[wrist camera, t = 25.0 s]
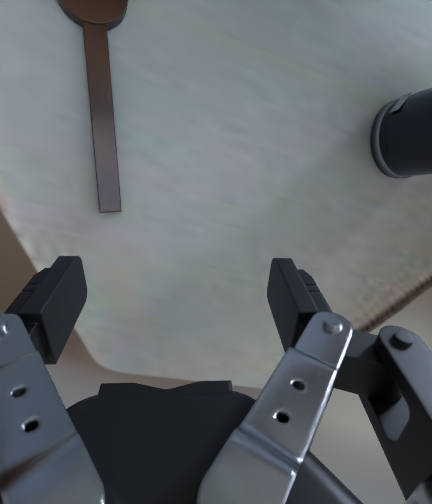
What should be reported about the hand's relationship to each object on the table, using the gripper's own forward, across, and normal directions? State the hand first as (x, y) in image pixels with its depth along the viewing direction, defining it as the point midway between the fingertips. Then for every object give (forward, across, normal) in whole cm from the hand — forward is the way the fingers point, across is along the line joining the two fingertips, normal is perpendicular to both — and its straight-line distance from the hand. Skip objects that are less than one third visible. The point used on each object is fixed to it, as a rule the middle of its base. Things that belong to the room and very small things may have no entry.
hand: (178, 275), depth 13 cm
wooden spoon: (+19, +7, -6) cm, 22 cm away
